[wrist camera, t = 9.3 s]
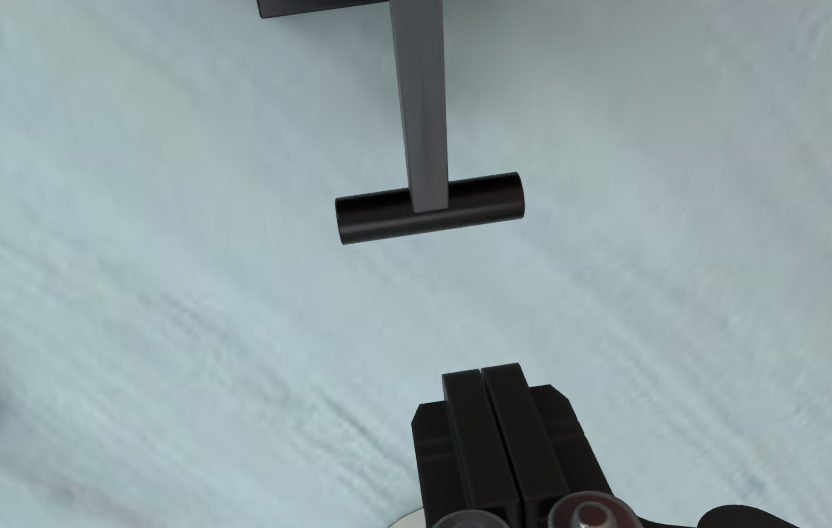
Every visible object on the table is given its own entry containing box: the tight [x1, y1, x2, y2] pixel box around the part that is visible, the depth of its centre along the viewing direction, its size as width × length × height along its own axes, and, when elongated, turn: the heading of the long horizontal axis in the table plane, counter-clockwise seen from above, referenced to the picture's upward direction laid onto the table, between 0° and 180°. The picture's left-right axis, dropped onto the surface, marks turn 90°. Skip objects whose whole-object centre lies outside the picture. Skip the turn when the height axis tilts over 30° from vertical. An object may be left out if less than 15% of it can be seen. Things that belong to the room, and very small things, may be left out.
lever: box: [335, 0, 525, 245], centre depth 17 cm, size 14×6×2 cm, turn 7°
